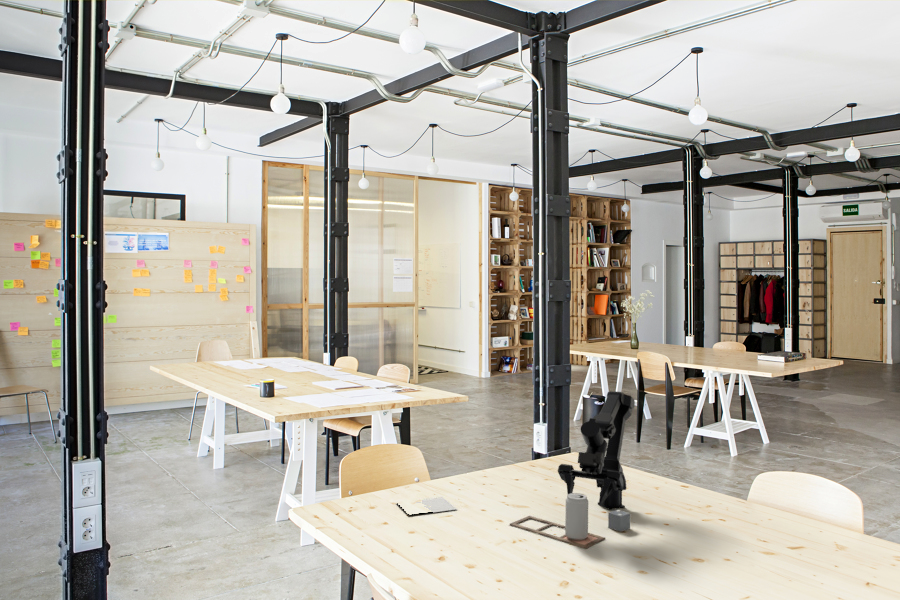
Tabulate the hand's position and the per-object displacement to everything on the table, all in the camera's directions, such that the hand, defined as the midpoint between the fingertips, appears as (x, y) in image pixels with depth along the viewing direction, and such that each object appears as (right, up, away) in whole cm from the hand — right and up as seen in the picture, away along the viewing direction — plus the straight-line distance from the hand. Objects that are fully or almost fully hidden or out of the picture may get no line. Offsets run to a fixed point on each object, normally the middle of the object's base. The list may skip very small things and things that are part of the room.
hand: (584, 501), depth 188 cm
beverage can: (-3, -10, -2) cm, 10 cm away
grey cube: (+12, -10, +6) cm, 16 cm away
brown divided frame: (-8, -10, +3) cm, 13 cm away
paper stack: (-49, -10, +20) cm, 54 cm away
